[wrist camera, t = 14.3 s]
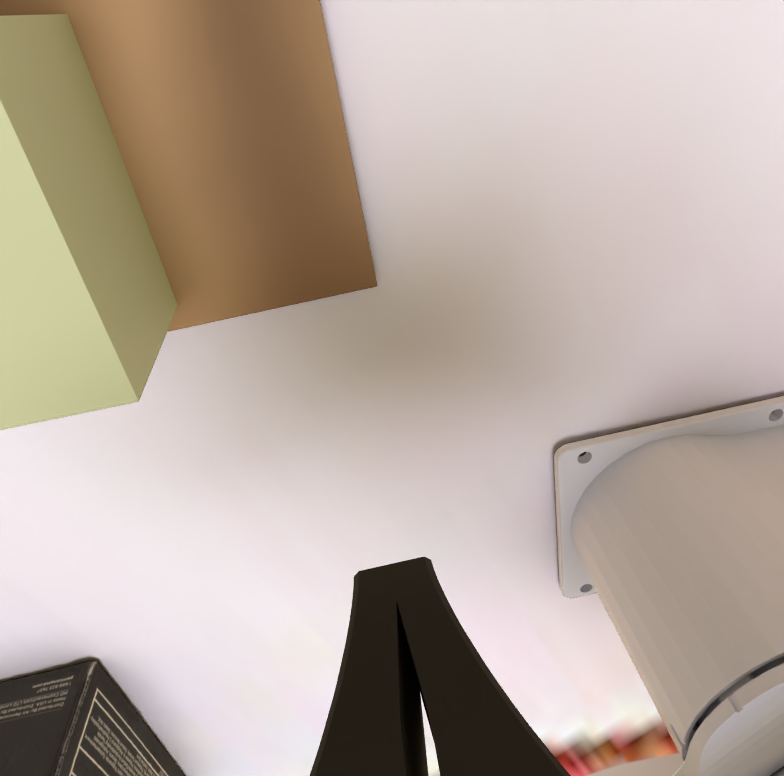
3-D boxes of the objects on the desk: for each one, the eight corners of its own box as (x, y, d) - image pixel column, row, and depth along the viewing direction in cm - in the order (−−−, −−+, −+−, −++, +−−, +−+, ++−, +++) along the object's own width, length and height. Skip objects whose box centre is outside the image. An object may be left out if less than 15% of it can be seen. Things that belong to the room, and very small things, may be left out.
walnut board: (297, -107, 13) (297, -111, 13) (374, 278, 18) (377, 286, 18) (-444, 45, 13) (-475, 46, 13) (-169, 395, 18) (-182, 406, 17)
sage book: (67, 14, 14) (-38, 16, 9) (177, 305, 17) (138, 401, 13) (-117, 49, 13) (-308, 68, 9) (34, 334, 17) (-53, 441, 13)
